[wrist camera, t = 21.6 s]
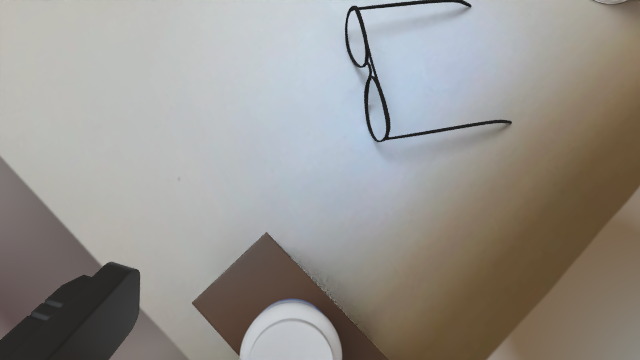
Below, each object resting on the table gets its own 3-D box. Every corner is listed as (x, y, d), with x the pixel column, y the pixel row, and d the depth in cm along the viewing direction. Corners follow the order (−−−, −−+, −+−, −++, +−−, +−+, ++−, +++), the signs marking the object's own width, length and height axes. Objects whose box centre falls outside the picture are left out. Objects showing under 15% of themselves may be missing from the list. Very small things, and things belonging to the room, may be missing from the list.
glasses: (340, 26, 44) (351, -5, 39) (462, 15, 47) (487, -16, 42) (373, 152, 41) (390, 134, 36) (501, 129, 44) (532, 111, 39)
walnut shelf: (215, 296, 37) (191, 303, 28) (272, 241, 38) (266, 231, 30) (316, 407, 35) (324, 450, 27) (371, 346, 37) (396, 368, 28)
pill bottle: (330, 381, 28) (350, 437, 18) (250, 381, 27) (226, 438, 18) (331, 296, 29) (349, 307, 19) (254, 295, 28) (234, 306, 19)
